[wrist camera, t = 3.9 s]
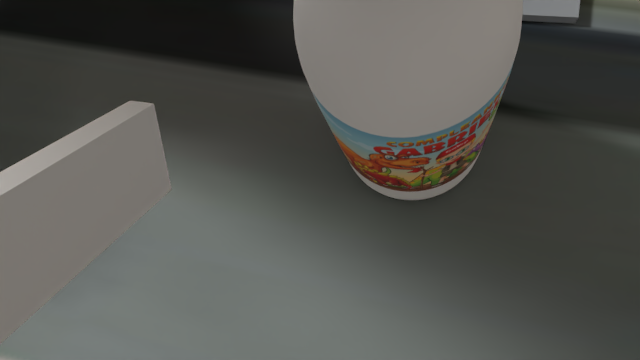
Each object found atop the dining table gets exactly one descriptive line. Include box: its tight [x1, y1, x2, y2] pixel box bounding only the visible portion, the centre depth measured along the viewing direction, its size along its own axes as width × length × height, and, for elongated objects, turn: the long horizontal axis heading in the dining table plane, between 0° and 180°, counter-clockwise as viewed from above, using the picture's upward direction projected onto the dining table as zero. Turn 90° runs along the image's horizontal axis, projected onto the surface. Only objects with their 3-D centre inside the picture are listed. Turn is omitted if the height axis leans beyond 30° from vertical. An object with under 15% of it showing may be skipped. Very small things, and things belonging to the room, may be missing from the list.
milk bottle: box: [293, 0, 523, 200], centre depth 17 cm, size 8×8×20 cm
